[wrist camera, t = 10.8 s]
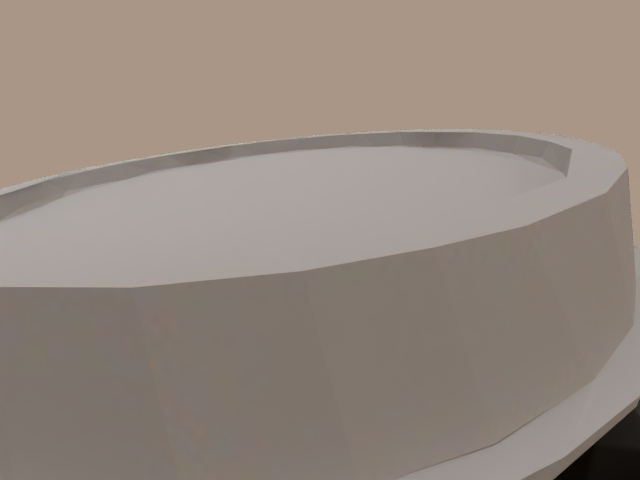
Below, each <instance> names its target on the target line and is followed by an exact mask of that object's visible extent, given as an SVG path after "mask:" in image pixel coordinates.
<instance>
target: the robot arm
mask: <svg viewBox="0 0 640 480" xmlns="http://www.w3.org/2000/svg"><path fill="white" fill-rule="evenodd" d="M553 480H640V399H639V402H638V404H637V406H636V407H635V408H634V409H633V410H632V411H631V412H630V413H628V414H627V415H626V416H625V417H624V418H623V419H622V420H621V421H619V422H618V423H617V424H616V425H615V426H614V427H613V428H611V429H610V430H609V431H608V432H607V433H606V434H605V435H603V436H602V437H601V438H600V439H599V440H598V441H597V442H595V443H594V444H593V445H592V446H591V447H590V448H589V449H588V450H586V451H585V452H584V453H583V454H582V455H581V456H580V457H578V458H577V459H576V460H575V461H574V462H573V463H572V464H570V465H569V466H568V467H567V468H566V469H565V470H564V471H563V472H561V473H560V474H559V475H558V476H557V477H556V478H555V479H553Z"/></svg>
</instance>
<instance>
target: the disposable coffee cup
mask: <svg viewBox="0 0 640 480" xmlns="http://www.w3.org/2000/svg"><path fill="white" fill-rule="evenodd" d="M639 399H640V252H639V250H638V249H637V248H636V247H635V246H633V233H632V219H631V205H630V191H629V176H628V167H627V165H626V164H625V162H624V161H623V160H622V158H621V157H620V155H619V154H618V152H616V151H613V150H611V149H608V148H605V147H602V146H600V145H597V144H594V143H592V142H588V141H583V140H579V139H574V138H570V137H566V136H561V135H549V134H540V133H528V132H516V131H502V130H479V129H478V130H477V129H463V130H462V129H460V130H459V129H458V130H456V129H453V130H452V129H446V130H397V131H378V132H362V133H346V134H331V135H318V136H317V135H316V136H306V137H296V138H286V139H276V140H265V141H256V142H249V143H240V144H233V145H224V146H216V147H209V148H201V149H193V150H187V151H181V152H175V153H168V154H163V155H156V156H151V157H144V158H138V159H132V160H127V161H121V162H116V163H111V164H105V165H99V166H95V167H89V168H84V169H79V170H75V171H71V172H66V173H62V174H57V175H53V176H49V177H44V178H40V179H36V180H31V181H28V182H24V183H21V184H17V185H14V186H11V187H7V188H3V189H0V480H553V479H555V478H556V477H557V476H558V475H559V474H560V473H561V472H563V471H564V470H565V469H566V468H567V467H568V466H569V465H570V464H572V463H573V462H574V461H575V460H576V459H577V458H578V457H580V456H581V455H582V454H583V453H584V452H585V451H586V450H588V449H589V448H590V447H591V446H592V445H593V444H594V443H595V442H597V441H598V440H599V439H600V438H601V437H602V436H603V435H605V434H606V433H607V432H608V431H609V430H610V429H611V428H613V427H614V426H615V425H616V424H617V423H618V422H619V421H621V420H622V419H623V418H624V417H625V416H626V415H627V414H628V413H630V412H631V411H632V410H633V409H634V408H635V407H636V406H637V404H638V402H639Z"/></svg>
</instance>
